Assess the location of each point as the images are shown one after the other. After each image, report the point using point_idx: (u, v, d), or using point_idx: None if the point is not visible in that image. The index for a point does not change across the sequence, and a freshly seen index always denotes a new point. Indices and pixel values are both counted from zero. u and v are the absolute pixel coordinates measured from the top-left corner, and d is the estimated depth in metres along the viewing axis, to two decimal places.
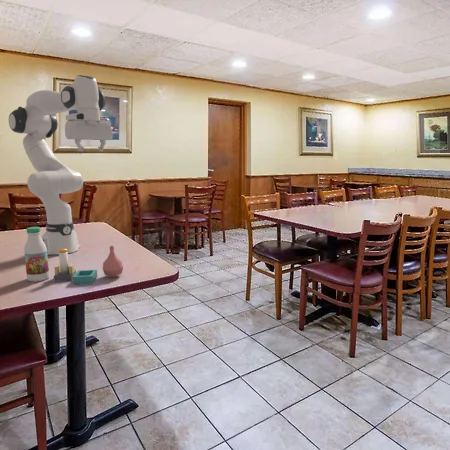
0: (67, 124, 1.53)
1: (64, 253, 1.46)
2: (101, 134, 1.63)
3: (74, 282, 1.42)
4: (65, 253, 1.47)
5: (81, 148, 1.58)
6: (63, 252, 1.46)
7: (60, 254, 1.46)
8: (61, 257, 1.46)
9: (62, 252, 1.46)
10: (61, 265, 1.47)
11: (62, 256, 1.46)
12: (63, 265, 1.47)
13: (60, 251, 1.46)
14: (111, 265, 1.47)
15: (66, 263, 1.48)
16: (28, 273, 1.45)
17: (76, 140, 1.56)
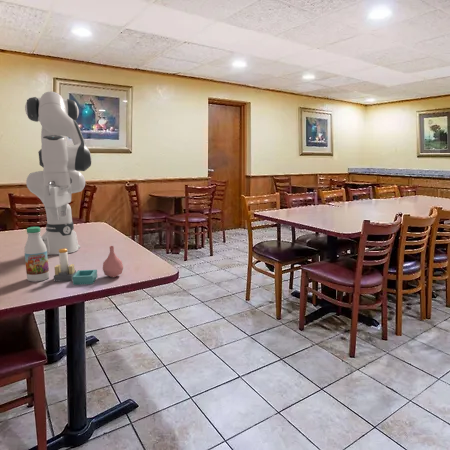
0: None
1: (64, 253, 1.46)
2: None
3: (74, 282, 1.42)
4: (65, 253, 1.47)
5: None
6: (63, 252, 1.46)
7: (60, 254, 1.46)
8: (61, 257, 1.46)
9: (62, 252, 1.46)
10: (61, 265, 1.47)
11: (62, 256, 1.46)
12: (63, 265, 1.47)
13: (60, 251, 1.46)
14: (111, 265, 1.47)
15: (66, 263, 1.48)
16: (28, 273, 1.45)
17: None
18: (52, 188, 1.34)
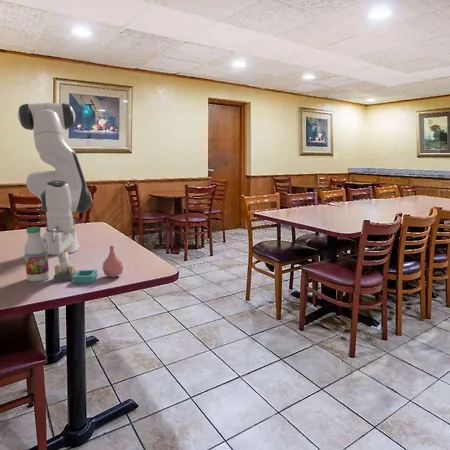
0: None
1: (64, 253, 1.46)
2: None
3: (74, 282, 1.42)
4: (65, 253, 1.47)
5: None
6: None
7: None
8: None
9: None
10: (61, 265, 1.47)
11: None
12: (63, 265, 1.47)
13: None
14: (111, 265, 1.47)
15: (66, 263, 1.48)
16: (28, 273, 1.45)
17: None
18: (56, 235, 1.37)
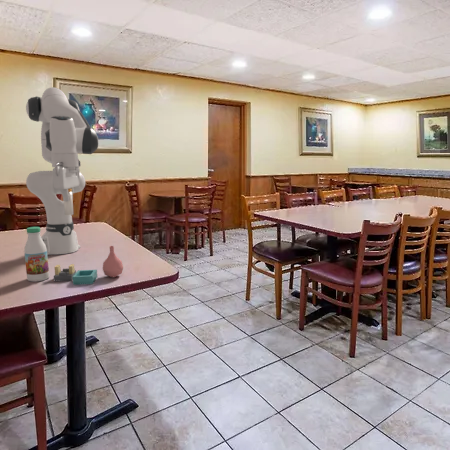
0: None
1: (68, 192, 1.40)
2: None
3: (74, 282, 1.42)
4: (69, 192, 1.41)
5: None
6: None
7: None
8: None
9: None
10: (65, 205, 1.41)
11: None
12: (67, 205, 1.41)
13: None
14: (111, 265, 1.47)
15: (70, 203, 1.41)
16: (28, 273, 1.45)
17: None
18: (60, 169, 1.31)
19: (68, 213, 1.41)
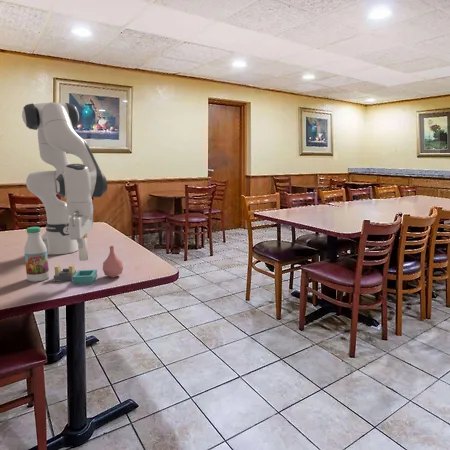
0: None
1: (83, 239, 1.42)
2: None
3: (74, 282, 1.42)
4: (84, 239, 1.42)
5: None
6: None
7: None
8: None
9: None
10: (80, 251, 1.43)
11: None
12: (82, 251, 1.43)
13: None
14: (111, 265, 1.47)
15: (85, 249, 1.43)
16: (28, 273, 1.45)
17: None
18: (76, 219, 1.33)
19: (83, 259, 1.43)
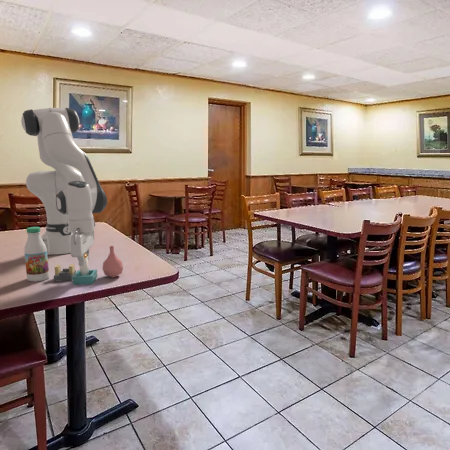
0: None
1: (84, 259, 1.43)
2: None
3: (74, 282, 1.42)
4: (85, 258, 1.43)
5: None
6: None
7: None
8: None
9: None
10: (81, 271, 1.44)
11: None
12: (83, 270, 1.44)
13: None
14: (111, 265, 1.47)
15: (86, 268, 1.44)
16: (28, 273, 1.45)
17: None
18: (78, 237, 1.34)
19: None
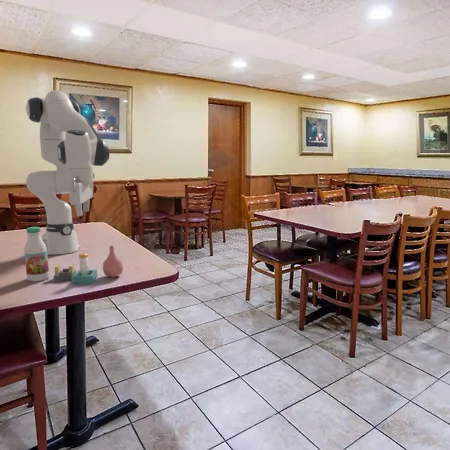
0: None
1: (84, 258, 1.43)
2: None
3: (74, 282, 1.42)
4: (85, 258, 1.44)
5: None
6: (83, 257, 1.43)
7: (80, 259, 1.43)
8: (81, 262, 1.43)
9: (82, 257, 1.43)
10: (81, 270, 1.44)
11: (82, 261, 1.43)
12: (83, 270, 1.44)
13: (80, 256, 1.43)
14: (111, 265, 1.47)
15: (86, 268, 1.45)
16: (28, 273, 1.45)
17: None
18: (76, 184, 1.33)
19: None
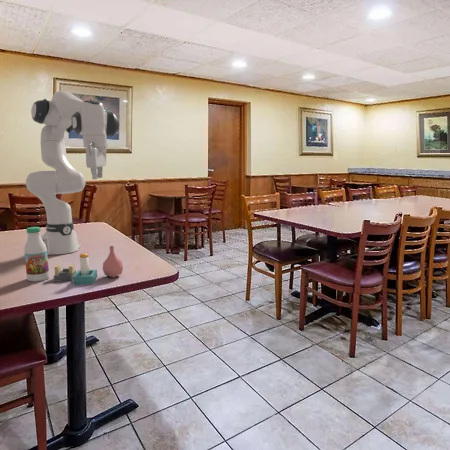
0: None
1: (85, 258, 1.44)
2: None
3: (74, 282, 1.42)
4: (86, 258, 1.44)
5: None
6: (84, 257, 1.43)
7: (81, 259, 1.44)
8: (82, 262, 1.44)
9: (83, 257, 1.43)
10: (82, 270, 1.44)
11: (83, 261, 1.43)
12: (84, 270, 1.44)
13: (81, 256, 1.43)
14: (111, 265, 1.47)
15: (87, 268, 1.45)
16: (28, 273, 1.45)
17: None
18: (92, 148, 1.45)
19: None
